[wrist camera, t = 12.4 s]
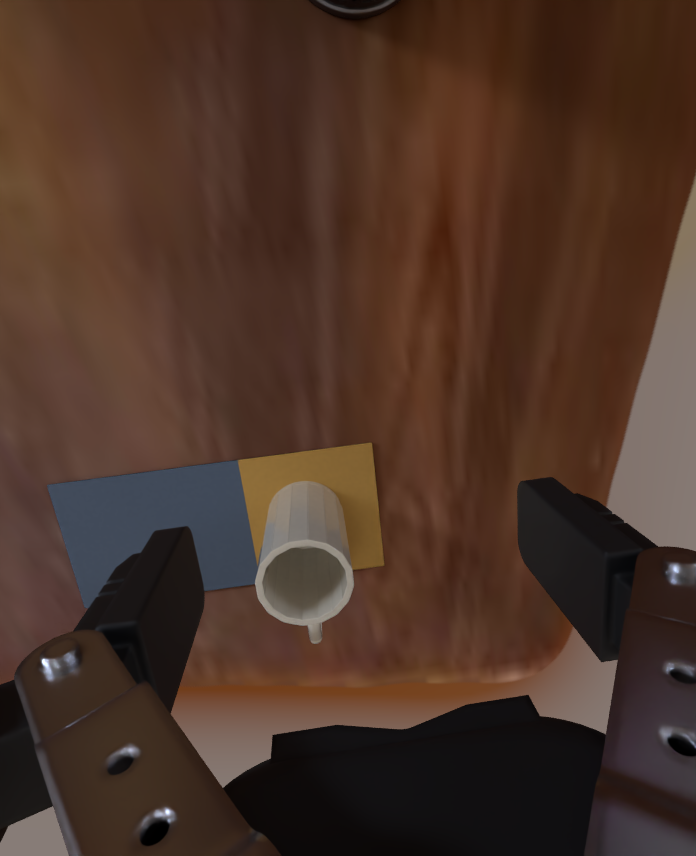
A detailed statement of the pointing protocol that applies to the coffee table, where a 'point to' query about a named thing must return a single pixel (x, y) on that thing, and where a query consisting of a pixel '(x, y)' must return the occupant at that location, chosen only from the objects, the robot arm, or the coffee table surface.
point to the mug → (304, 557)
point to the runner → (211, 512)
